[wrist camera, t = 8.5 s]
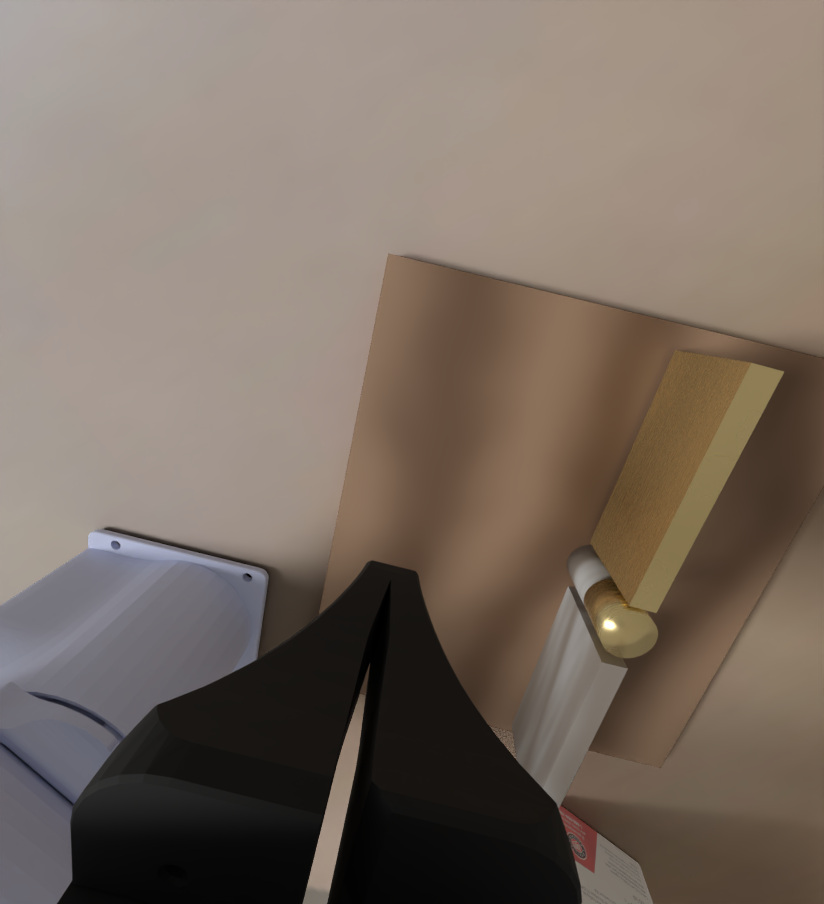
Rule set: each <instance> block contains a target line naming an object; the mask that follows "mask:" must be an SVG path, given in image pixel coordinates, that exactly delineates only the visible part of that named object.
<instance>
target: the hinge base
mask: <svg viewBox="0 0 824 904" xmlns="http://www.w3.org/2000/svg"><path fill="white" fill-rule="evenodd" d="M675 350H677V351H683V352H689V353H695V354H701V355H707V356H713V357H719V358H726V359H732V360H738V361H744V362H750V363H754V364H758V365H762V366H765V367H769V368H773V369H776V370H780V371H784V374H783V375H782V377H781V379H780V381H779V383H778V385H777V387H776V389H775V391H774V392H773V394H772V396H771V398H770V400H769V402H768V404H767V406H766V408H765V409H764V411H763V413H762V415H761V417H760V419H759V421H758V423H757V424H756V426H755V428H754V430H753V432H752V434H751V436H750V438H749V440H748V441H747V443H746V445H745V447H744V449H743V451H742V453H741V455H740V456H739V458H738V460H737V462H736V464H735V466H734V468H733V470H732V472H731V473H730V475H729V477H728V479H727V481H726V483H725V485H724V487H723V489H722V490H721V492H720V494H719V496H718V498H717V500H716V502H715V504H714V505H713V507H712V509H711V511H710V513H709V515H708V517H707V519H706V521H705V522H704V524H703V526H702V528H701V530H700V532H699V534H698V536H697V537H696V539H695V541H694V543H693V545H692V547H691V549H690V551H689V553H688V554H687V556H686V558H685V560H684V562H683V564H682V566H681V568H680V570H679V571H678V573H677V575H676V577H675V579H674V581H673V583H672V585H671V586H670V588H669V590H668V592H667V594H666V596H665V598H664V600H663V602H662V603H661V605H660V607H659V609H658V611H657V613H654V612H650V611H647V610H646V611H647V613H648V614H649V616H650V617H651V619H652V620H653V622H654V623H655V625H656V627H657V630H658V638H657V641H656V643H655V645H654V646H653V647H652V649H650V650H649V651H648V652H647V653H645V654H643V655H641V656H638V657H634V658H620V657H616V656H614V655H612V654H610V653H609V652H607V651H606V650H605V648H604V647H603V645H602V643H601V641H600V639H599V637H598V634H597V632H596V630H595V628H594V626H593V624H592V622H591V619H590V617H589V615H588V613H587V611H586V609H585V606H584V596H585V593H586V591H587V590H588V588H589V587H590V586H592V585H593V584H594V583H596V582H598V581H601V580H604V579H612V577H611V576H610V574H609V572H608V571H607V569H606V567H605V566H604V564H603V563H602V561H601V559H600V558H599V556H598V554H597V553H596V551H595V550H594V548H593V546H592V545H591V543H590V541H591V539H592V537H593V534H594V532H595V530H596V528H597V525H598V523H599V521H600V519H601V516H602V514H603V512H604V510H605V507H606V505H607V503H608V501H609V498H610V496H611V494H612V492H613V489H614V487H615V485H616V483H617V480H618V478H619V476H620V474H621V471H622V469H623V467H624V464H625V462H626V460H627V458H628V455H629V453H630V451H631V449H632V446H633V444H634V442H635V440H636V437H637V435H638V433H639V431H640V428H641V426H642V424H643V422H644V419H645V417H646V415H647V413H648V410H649V408H650V406H651V404H652V401H653V399H654V397H655V394H656V392H657V390H658V388H659V385H660V383H661V381H662V379H663V376H664V374H665V372H666V370H667V367H668V365H669V363H670V361H671V358H672V356H673V354H674V352H675ZM823 487H824V358H820V357H815V356H811V355H807V354H803V353H799V352H795V351H790V350H786V349H782V348H778V347H774V346H770V345H766V344H761V343H757V342H753V341H749V340H745V339H741V338H737V337H732V336H728V335H724V334H720V333H716V332H712V331H708V330H703V329H699V328H695V327H691V326H687V325H683V324H679V323H674V322H670V321H666V320H662V319H658V318H654V317H650V316H645V315H641V314H637V313H633V312H629V311H625V310H620V309H616V308H612V307H608V306H604V305H600V304H596V303H591V302H587V301H583V300H579V299H575V298H571V297H567V296H562V295H558V294H554V293H550V292H546V291H542V290H538V289H533V288H529V287H525V286H521V285H517V284H513V283H509V282H504V281H500V280H496V279H492V278H488V277H484V276H479V275H475V274H471V273H467V272H463V271H459V270H455V269H450V268H446V267H442V266H438V265H434V264H430V263H426V262H421V261H417V260H413V259H409V258H405V257H401V256H397V255H392V254H388V258H387V263H386V268H385V273H384V278H383V284H382V289H381V294H380V299H379V304H378V309H377V315H376V320H375V325H374V330H373V335H372V341H371V346H370V351H369V356H368V361H367V366H366V372H365V377H364V382H363V387H362V392H361V397H360V403H359V408H358V413H357V418H356V423H355V428H354V434H353V439H352V444H351V449H350V454H349V460H348V465H347V470H346V475H345V480H344V485H343V491H342V496H341V501H340V506H339V511H338V516H337V522H336V527H335V532H334V537H333V542H332V547H331V553H330V558H329V563H328V568H327V573H326V578H325V584H324V589H323V594H322V599H321V604H320V610H319V615H320V614H321V613H322V612H323V611H324V610H325V609H326V608H327V607H329V606H330V605H331V604H332V603H333V602H334V601H335V600H336V599H337V598H338V597H339V596H340V595H341V594H342V593H343V592H344V591H345V590H346V589H347V588H348V587H349V585H350V584H351V583H352V582H353V581H354V580H355V578H356V577H357V576H358V575H359V573H360V572H361V571H362V569H363V568H364V566H365V565H366V563H367V562H369V561H371V560H373V561H377V562H381V563H385V564H390V565H394V566H398V567H402V568H406V569H410V570H414V571H416V572H417V574H418V575H419V581H420V586H421V590H422V594H423V597H424V601H425V604H426V607H427V610H428V613H429V616H430V619H431V621H432V624H433V627H434V629H435V632H436V634H437V637H438V639H439V641H440V644H441V646H442V648H443V650H444V652H445V655H446V657H447V659H448V661H449V663H450V665H451V667H452V668H453V670H454V672H455V674H456V676H457V678H458V679H459V681H460V683H461V685H462V686H463V688H464V690H465V691H466V693H467V694H468V696H469V698H470V699H471V701H472V703H473V704H474V705H475V707H476V708H477V710H478V711H479V712H480V714H481V715H482V717H483V718H484V720H485V721H486V722H487V724H488V725H489V726H492V727H496V728H500V729H505V730H509V731H513V738H514V744H515V751H516V757H517V761H518V763H519V764H520V765H521V766H522V767H523V768H524V769H525V770H526V771H527V772H528V773H529V774H530V775H531V776H532V778H533V779H534V780H535V781H536V782H537V783H538V784H539V785H540V786H541V787H542V788H543V789H544V790H545V791H546V792H547V794H548V795H549V796H550V797H551V798H552V799H553V800H554V801H555V802H556V803H557V806H558V809H559V807H560V805H561V803H562V801H563V799H564V797H565V795H566V793H567V791H568V789H569V787H570V785H571V783H572V781H573V779H574V777H575V775H576V773H577V771H578V769H579V767H580V765H581V763H582V761H583V759H584V757H585V755H586V753H587V751H588V750H590V751H594V752H598V753H602V754H606V755H610V756H614V757H618V758H622V759H626V760H630V761H634V762H638V763H642V764H646V765H650V766H654V767H658V768H661V767H662V765H663V763H664V761H665V760H666V758H667V756H668V754H669V753H670V751H671V749H672V748H673V746H674V744H675V742H676V741H677V739H678V737H679V735H680V734H681V732H682V730H683V729H684V727H685V725H686V723H687V722H688V720H689V718H690V716H691V715H692V713H693V711H694V710H695V708H696V706H697V704H698V703H699V701H700V699H701V697H702V696H703V694H704V692H705V691H706V689H707V687H708V685H709V684H710V682H711V680H712V678H713V677H714V675H715V673H716V671H717V670H718V668H719V666H720V665H721V663H722V661H723V659H724V658H725V656H726V654H727V652H728V651H729V649H730V647H731V646H732V644H733V642H734V640H735V639H736V637H737V635H738V633H739V632H740V630H741V628H742V627H743V625H744V623H745V621H746V620H747V618H748V616H749V614H750V613H751V611H752V609H753V608H754V606H755V604H756V602H757V601H758V599H759V597H760V595H761V594H762V592H763V590H764V589H765V587H766V585H767V583H768V582H769V580H770V578H771V576H772V575H773V573H774V571H775V570H776V568H777V566H778V564H779V563H780V561H781V559H782V557H783V556H784V554H785V552H786V550H787V549H788V547H789V545H790V544H791V542H792V540H793V538H794V537H795V535H796V533H797V531H798V530H799V528H800V526H801V525H802V523H803V521H804V519H805V518H806V516H807V514H808V512H809V511H810V509H811V507H812V506H813V504H814V502H815V500H816V499H817V497H818V495H819V493H820V492H821V490H822V488H823ZM319 615H318V616H319ZM369 667H370V664H369ZM369 667H368V670H367V673H366V676H365V679H364V682H363V685H362V688H361V691H360V694H363V695H366V690H367V683H368V675H369Z"/></svg>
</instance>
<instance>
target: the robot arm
mask: <svg viewBox="0 0 824 904" xmlns="http://www.w3.org/2000/svg"><path fill="white" fill-rule="evenodd" d="M117 542H119V543H120V545H119V544H118V543H117ZM246 573H248V574H250V575H251V576H252V578H250V577H248V576H247V575H246ZM268 580H269V575H268V573H267V572H266V571H265V570H264V569H262V568H259V567H255V566H250V565H246V564H242V563H238V562H234V561H230V560H226V559H222V558H218V557H214V556H210V555H206V554H202V553H198V552H193V551H189V550H185V549H181V548H177V547H173V546H169V545H165V544H161V543H157V542H153V541H149V540H145V539H141V538H136V537H132V536H128V535H124V534H120V533H116V532H112V531H108V530H104V529H96V530H94V531H93V532H91V533H90V534H89V537H88V549H86V550H85V551H83V552H82V553H80V554H79V555H77V556H75V557H74V558H72V559H71V560H69V561H68V562H66V563H65V564H63V565H62V566H60V567H59V568H57V569H56V570H54V571H52V572H51V573H49V574H48V575H46V576H45V577H43V578H42V579H40V580H39V581H37V582H36V583H34V584H33V585H31V586H29V587H28V588H26V589H25V590H23V591H22V592H20V593H19V594H17V595H16V596H14V597H13V598H11V599H10V600H8V601H7V602H5V603H3V604H2V605H0V904H302V903H303V899H304V896H305V892H306V888H307V884H308V879H309V875H310V871H311V867H312V863H313V859H314V855H315V851H316V847H317V843H318V839H319V835H320V831H321V827H322V823H323V819H324V814H325V810H326V806H327V802H328V798H329V794H330V790H331V786H332V782H333V778H334V774H335V770H336V766H337V762H338V759H339V755H340V752H341V749H342V745H343V742H344V739H345V736H346V733H347V730H348V727H349V724H350V721H351V718H352V715H353V712H354V709H355V706H356V703H357V700H358V697H359V694H360V691H361V688H362V685H363V682H364V679H365V676H366V673H367V670H368V667H369V664H370V667H369V675H368V683H367V690H366V698H365V706H364V714H363V722H362V730H361V738H360V746H359V753H358V759H357V765H356V771H355V776H354V780H353V785H352V790H351V795H350V799H349V804H348V809H347V814H346V818H345V823H344V828H343V832H342V837H341V842H340V846H339V851H338V856H337V861H336V865H335V870H334V875H333V879H332V884H331V889H330V893H329V898H328V903H327V904H582V895H581V884H580V880H579V876H578V871H577V867H576V863H575V858H574V855H573V851H572V848H571V845H570V842H569V838H568V835H567V832H566V829H565V826H564V823H563V821H562V818H561V815H560V812H559V809H558V806H557V803H556V802H555V801H554V800H553V799H552V798H551V797H550V796H549V795H548V794H547V792H546V791H545V790H544V789H543V788H542V787H541V786H540V785H539V784H538V783H537V782H536V781H535V780H534V779H533V778H532V776H531V775H530V774H529V773H528V772H527V771H526V770H525V769H524V768H523V767H522V766H521V765H520V764H519V763H518V761H517V760H516V759H515V758H514V757H513V755H512V754H511V753H510V752H509V751H508V749H507V748H506V747H505V746H504V744H503V743H502V742H501V741H500V740H499V738H498V737H497V736H496V735H495V733H494V732H493V731H492V729H491V728H490V727H489V725H488V724H487V722H486V721H485V720H484V718H483V717H482V715H481V714H480V712H479V711H478V710H477V708H476V707H475V705H474V704H473V703H472V701H471V699H470V698H469V696H468V694H467V693H466V691H465V690H464V688H463V686H462V685H461V683H460V681H459V679H458V678H457V676H456V674H455V672H454V670H453V668H452V667H451V665H450V663H449V661H448V659H447V657H446V655H445V652H444V650H443V648H442V646H441V644H440V641H439V639H438V637H437V634H436V632H435V629H434V627H433V624H432V621H431V619H430V616H429V613H428V610H427V607H426V604H425V601H424V597H423V594H422V590H421V586H420V581H419V575H418V574H417V572H416V571H414V570H410V569H406V568H402V567H398V566H394V565H390V564H385V563H381V562H377V561H373V560H371V561H369V562H367V563H366V565H365V566H364V568H363V569H362V571H361V572H360V573H359V575H358V576H357V577H356V578H355V580H354V581H353V582H352V583H351V584H350V585H349V587H348V588H347V589H346V590H345V591H344V592H343V593H342V594H341V595H340V596H339V597H338V598H337V599H336V600H335V601H334V602H333V603H332V604H331V605H330V606H329V607H327V608H326V609H325V610H324V611H323V612H322V613H321V614H320V615H319V616H317V617H316V618H315V619H314V620H313V621H312V622H310V623H309V624H308V625H307V626H305V627H304V628H303V629H301V630H300V631H299V632H297V633H296V634H295V635H293V636H292V637H291V638H289V639H288V640H286V641H285V642H283V643H282V644H280V645H279V646H277V647H276V648H274V649H273V650H271V651H270V652H268V653H266V654H265V655H263V656H262V657H260V658H258V659H257V657H258V650H259V643H260V636H261V629H262V622H263V615H264V608H265V601H266V594H267V587H268Z"/></svg>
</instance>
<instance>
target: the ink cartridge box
mask: <svg viewBox="0 0 824 904" xmlns="http://www.w3.org/2000/svg"><path fill="white" fill-rule="evenodd" d="M559 812H560V815H561V818H562V821H563V823H564V826H565V829H566V832H567V835H568V838H569V842H570V845H571V848H572V851H573V855H574V858H575V863H576V867H577V871H578V876H579V880H580V884H581V895H582V904H653V902H652V899H651V896H650V893H649V890H648V887H647V885H646V882H645V879H644V876H643V873H642V870H641V867H640V865H639V864H638V863H637V862H636V861H635V860H633V859H632V858H631V857H629V856H628V855H627V854H626V853H624V852H623V851H622V850H620V849H619V848H617V847H616V846H615V845H613V844H612V843H611V842H609V841H608V840H607V839H605V838H604V837H603V836H601V835H600V834H598V833H597V832H596V831H595V830H593V829H592V828H591V827H589V826H588V825H586V824H585V823H584V822H582V821H581V820H580V819H578V818H577V817H576V816H574V815H573V814H572V813H570V812H569V811H568V810H566V809H565V808H564V807H562V806H561V805H560V807H559Z"/></svg>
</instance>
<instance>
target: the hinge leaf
mask: <svg viewBox="0 0 824 904" xmlns="http://www.w3.org/2000/svg"><path fill="white" fill-rule="evenodd" d="M783 374H784V371H780V370H776V369H773V368H769V367H765V366H762V365H758V364H754V363H750V362H744V361H738V360H732V359H726V358H719V357H713V356H707V355H701V354H695V353H689V352H683V351H677V350H675V352H674V354H673V356H672V358H671V361H670V363H669V365H668V367H667V370H666V372H665V374H664V376H663V379H662V381H661V383H660V385H659V388H658V390H657V392H656V394H655V397H654V399H653V401H652V404H651V406H650V408H649V410H648V413H647V415H646V417H645V419H644V422H643V424H642V426H641V428H640V431H639V433H638V435H637V437H636V440H635V442H634V444H633V446H632V449H631V451H630V453H629V455H628V458H627V460H626V462H625V464H624V467H623V469H622V471H621V474H620V476H619V478H618V480H617V483H616V485H615V487H614V489H613V492H612V494H611V496H610V498H609V501H608V503H607V505H606V507H605V510H604V512H603V514H602V516H601V519H600V521H599V523H598V525H597V528H596V530H595V532H594V534H593V537H592V539H591V541H590V543H591V545H592V546H593V548H594V550H595V551H596V553H597V554H598V556H599V558H600V559H601V561H602V563H603V564H604V566H605V567H606V569H607V571H608V572H609V574H610V576H611V577H612V579H604V580H601V581H598V582H596V583H594V584H593V585H592V586H590V587H589V588H588V590H587V591H586V593H585V596H584V606H585V609H586V611H587V613H588V615H589V617H590V619H591V622H592V624H593V626H594V628H595V630H596V632H597V634H598V637H599V639H600V641H601V643H602V645H603V647H604V648H605V650H606V651H607V652H609V653H610V654H612V655H614V656H616V657H620V658H634V657H638V656H641V655H643V654H645V653H647V652H648V651H649V650H650V649H652V647H653V646H654V645H655V643H656V641H657V638H658V630H657V627H656V625H655V623H654V622H653V620H652V619H651V617H650V616H649V614H648V613H647V611H650V612H654V613H657V611H658V609H659V607H660V605H661V603H662V602H663V600H664V598H665V596H666V594H667V592H668V590H669V588H670V586H671V585H672V583H673V581H674V579H675V577H676V575H677V573H678V571H679V570H680V568H681V566H682V564H683V562H684V560H685V558H686V556H687V554H688V553H689V551H690V549H691V547H692V545H693V543H694V541H695V539H696V537H697V536H698V534H699V532H700V530H701V528H702V526H703V524H704V522H705V521H706V519H707V517H708V515H709V513H710V511H711V509H712V507H713V505H714V504H715V502H716V500H717V498H718V496H719V494H720V492H721V490H722V489H723V487H724V485H725V483H726V481H727V479H728V477H729V475H730V473H731V472H732V470H733V468H734V466H735V464H736V462H737V460H738V458H739V456H740V455H741V453H742V451H743V449H744V447H745V445H746V443H747V441H748V440H749V438H750V436H751V434H752V432H753V430H754V428H755V426H756V424H757V423H758V421H759V419H760V417H761V415H762V413H763V411H764V409H765V408H766V406H767V404H768V402H769V400H770V398H771V396H772V394H773V392H774V391H775V389H776V387H777V385H778V383H779V381H780V379H781V377H782V375H783ZM646 610H647V611H646Z"/></svg>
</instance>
